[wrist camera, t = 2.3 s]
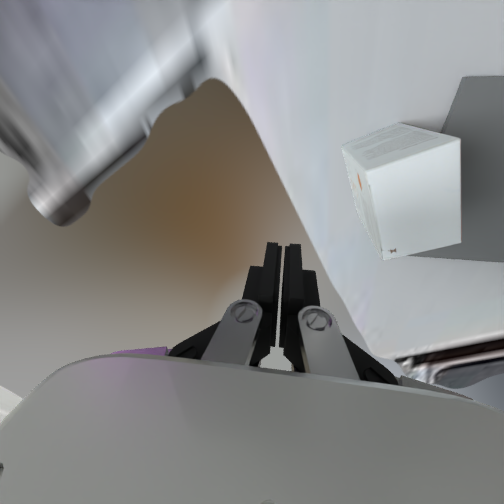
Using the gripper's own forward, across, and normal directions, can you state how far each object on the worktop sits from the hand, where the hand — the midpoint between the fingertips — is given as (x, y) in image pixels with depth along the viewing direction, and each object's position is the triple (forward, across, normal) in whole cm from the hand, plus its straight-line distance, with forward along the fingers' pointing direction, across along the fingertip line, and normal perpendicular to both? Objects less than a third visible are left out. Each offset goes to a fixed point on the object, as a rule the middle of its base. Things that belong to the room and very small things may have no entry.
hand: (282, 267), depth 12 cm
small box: (+18, -9, -1) cm, 20 cm away
